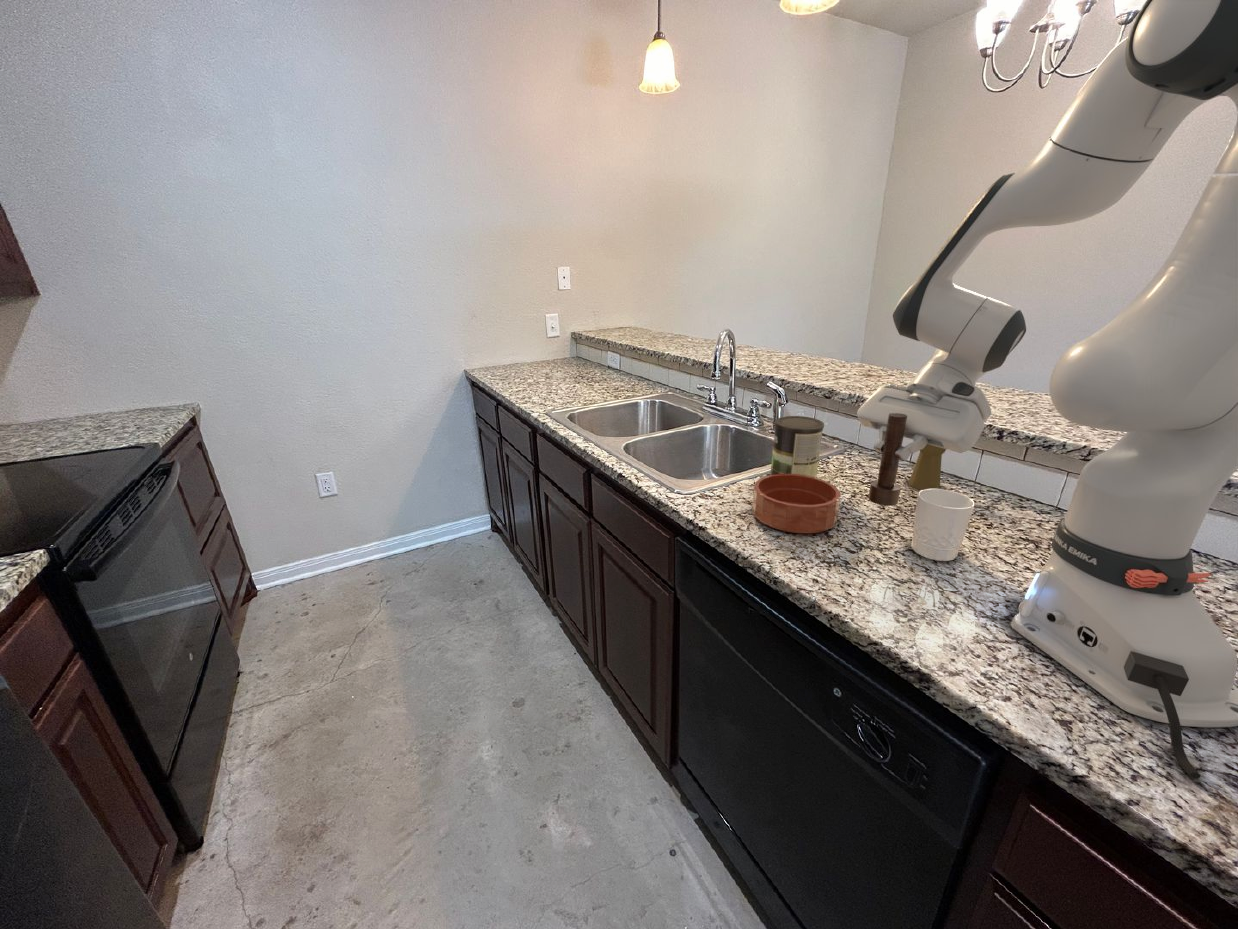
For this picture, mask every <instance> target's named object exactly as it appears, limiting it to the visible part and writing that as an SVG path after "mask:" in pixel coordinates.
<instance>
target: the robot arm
mask: <svg viewBox="0 0 1238 929" xmlns="http://www.w3.org/2000/svg"><path fill="white" fill-rule="evenodd" d="M1218 97H1227V98H1229V99H1230V100H1232V102H1233V103H1234V105H1235V108H1236V123H1235V126H1234V129H1233V131H1232V134H1231V137H1230V139H1229V140H1228V143H1227V145H1226V147H1225V149H1224V150H1223V152H1222V154H1221V156H1220V158H1219V159H1218V162H1217V163H1216V166H1215V167H1214V170H1213V171H1212V175H1210V177H1209V179H1208V181H1207V183H1206V186H1205V187H1204V189H1203V191H1202V193H1201V196H1200V198H1199V199H1198V202H1196V203H1197V204H1195V207H1194V209H1193V211H1192V213H1191V215H1190V217H1189V219H1188V221H1187V222H1186V224H1185V226H1184V227H1183V229H1182V231H1181V233H1180V235H1179V237H1178V239H1177V240H1176V243H1175V244H1174V247H1173V249H1172V250H1171V252H1170V253H1169V255H1168V257H1167V258H1166V260H1165V261H1164V263H1162V266H1161V267H1160V269H1159V270H1158V271H1157V272H1156V273H1155V275H1153V277H1152V278H1151V280H1150V281H1149V282H1148V283H1147V284H1146V285H1145V286H1144V288H1142V290H1141V291H1140V292H1139V293H1138V294H1137V295H1136V296H1135V298H1133V300H1131V302H1130V303H1129V304H1128V305H1126V307H1125V308H1124V309H1123V310H1122V311H1121V312H1119V314H1117V315H1116V316H1115V317H1114V318H1113V319H1111V321H1110V322H1108V323H1107V324H1106V325H1105V326H1103V327H1102V328H1100V329H1099V330H1098V331H1096V332H1095V333H1093V334H1091V335H1090V336H1088V337H1087V338H1085V339H1083V340H1081V341H1079V342H1077V343H1075V344H1073V345H1072V346H1070V347H1069V348H1068V349H1067V350H1066V351H1065V352H1064V353H1062V355H1061V356H1060V357H1059V358H1058V359H1057V361H1056V363H1055V365H1054V366H1053V369H1052V371H1051V374H1050V377H1049V384H1048V385H1049V386H1048V388H1049V389H1048V390H1049V396H1050V399H1051V402H1052V405H1053V407H1054V408H1055V410H1056V411H1057V412H1058V414H1059V415H1060V416H1062V418H1063V419H1065V420H1067V421H1068V422H1070V423H1072V424H1076V425H1079V426H1084V427H1089V428H1093V429H1100V430H1106V431H1111V432H1119V433H1120V432H1121V433H1125V434H1124V435H1123V436H1122V437H1121V439H1119V440H1118V441H1117V442H1116V443H1115V444H1113V445H1112V446H1111V447H1110V448H1108V449H1106V450H1105V451H1103V452H1102V453H1099V454H1098V455H1096V456H1095V457H1093V458H1092V459H1091V460H1089V461H1088V462H1087V463H1086V464H1085V465H1084V466H1083V467H1082V469H1081V471H1080V473H1079V476H1078V478H1077V481H1076V485H1075V487H1074V490H1073V492H1072V493H1073V494H1072V496H1071V499H1070V502H1069V505H1068V508H1067V510H1066V511H1067V512H1066V513H1065V517H1063V518H1062V519H1060V520H1059V523H1058V525H1057V527H1056V529H1054V532H1053V538H1052V541H1051V549H1052V551H1051V553H1050V555H1049V558H1048V560H1047V561H1046V563H1045V564H1044V566H1043V567H1042V569H1041V570H1040V573H1039V572H1038V573H1036V574H1035V576H1034V578H1033V580H1032V582H1031V583H1030V586H1028V589H1027V591H1026V593H1025V596H1024V598H1023V599H1022V600H1021V601H1020V603H1019V605H1018V613H1017V614H1016V615H1014V616H1013V618H1012V619H1011V622H1010V627H1011V628H1012V629H1013V630H1014V631H1015V632H1017V633H1018V634H1019V635H1021V636H1022V637H1023V638H1024V639H1026V640H1027V641H1029V642H1030V643H1031V644H1033V645H1034V646H1036V647H1037V648H1039V649H1040V650H1041V651H1042V652H1044V653H1045V654H1047V655H1048V656H1049V657H1051V658H1052V659H1053V660H1055V661H1056V662H1057V663H1059V664H1060V665H1061V666H1063V667H1064V668H1065V669H1067V670H1068V671H1069V672H1070V673H1072V674H1074V675H1075V676H1076V677H1077V678H1079V679H1080V680H1082V682H1084V683H1086V684H1087V685H1088V686H1090V687H1091V688H1092V689H1094V690H1095V691H1096V692H1098V693H1099V694H1100V695H1102V696H1103V697H1105V698H1106V699H1107V700H1108V701H1110V702H1111V703H1113V705H1115V706H1117V707H1118V708H1120V709H1121V710H1123V711H1125V712H1126V713H1128V714H1132V715H1134V716H1137V717H1141V718H1143V719H1147V720H1152V721H1155V722H1160V723H1162V724H1163V723H1164V724H1168V725H1169V735H1170V743H1171V748H1172V751H1173V754H1174V757H1175V759H1176V761H1177V763H1178V764H1179V766H1180V767H1181V769H1183V771H1184V772H1185V773H1186V775H1188V777H1189V778H1191V779H1193V780H1197V779H1200V778H1201V774H1200V772H1199V771H1198V770H1197V769H1196V768H1195V767H1194V766H1193V765H1192V764H1191V762H1190V760H1189V759H1188V757H1187V754H1186V752H1185V748H1184V742H1183V733H1182V727H1191V728H1232V727H1233V728H1234V727H1238V687H1237V686H1236V685H1235V684H1234V683H1235V679H1236V675H1237V671H1238V655H1237V652H1236V650H1235V649H1234V647H1233V646H1232V645H1231V644H1230V642H1229V641H1228V640H1227V638H1226V637H1225V635H1224V631H1223V630H1222V628H1221V627H1220V626H1219V625H1217V624H1216V622H1215V621H1214V620H1213V618H1211V616H1210V614H1209V613H1208V611H1206V609H1205V607H1204V605H1203V604H1202V603H1201V601H1200V599H1199V598H1198V597H1197V596H1196V595H1195V593H1194V591H1193V589H1194V587H1195V583H1208V581H1209V580H1206V579H1205V578H1209V577H1212V574H1211V573H1209V572H1194V561H1193V553H1192V551H1191V547H1192V545H1193V543H1194V541H1195V539H1196V536H1197V535H1198V533H1199V530H1200V529H1201V526H1202V524H1203V522H1204V520H1205V518H1206V516H1207V514H1208V512H1209V510H1210V508H1211V506H1212V504H1213V502H1214V500H1215V499H1216V497H1217V496H1218V494H1219V493H1220V491H1221V489H1222V488H1223V487H1224V486H1225V484H1226V483H1227V482H1228V481H1229V479H1230V478H1231V477H1232V476H1233V475H1234V473H1236V472H1237V470H1238V175H1227V174H1238V0H1146V1H1145V2H1144V3H1143V5H1142V7H1141V8H1140V10H1139V11H1138V13H1137V15H1136V17H1135V19H1134V21H1133V23H1132V25H1131V28H1130V30H1129V34H1128V36H1126V37H1125V38H1124V39H1122V40H1121V41H1120V42H1119V43H1118V44H1116V45H1115V46H1113V48H1112V49H1111V50H1110V51H1109V52H1108V54H1107V55H1106V56H1105V58H1104V59H1103V60H1102V61H1101V62H1100V63H1099V65H1098V66H1097V67H1096V69H1095V70H1094V71H1093V72H1092V74H1091V75H1090V77H1089V78H1088V79H1087V80H1086V82H1085V83H1084V85H1083V86H1082V87H1081V88H1080V90H1079V91H1078V93H1076V96H1074V98H1073V100H1072V101H1071V103H1070V104H1069V105H1068V107H1067V108H1066V110H1065V111H1064V113H1063V115H1062V116H1061V118H1060V119H1059V121H1058V122H1057V123H1056V126H1055V128H1054V129H1053V131H1052V132H1051V133H1050V136H1049V137H1048V139H1047V141H1046V142H1045V144H1044V146H1042V148H1041V149H1040V151H1038V153H1037V154H1036V155H1035V156H1034V157H1033V158H1032V159H1031V160H1030V161H1029V162H1028V163H1026V165H1024V166H1023V167H1021V168H1020V169H1019V170H1017V171H1016V172H1011V173H1008V174H1003V175H1001V176H1000V177H999V178H998V179H997V180H996V181H994V182H993V183H992V184H991V185H990V186H989V187H988V188H987V189H986V190H985V191H984V193H983V194H982V195H981V196H980V197H979V199H977V201H976V202H975V203H974V204H973V206H972V207H971V208H970V210H969V211H968V212H967V213H966V214H965V216H964V217H963V218H962V220H961V221H960V222H959V223H958V225H957V226H956V228H955V229H954V231H953V232H952V233H951V234H950V235H949V237H948V238H947V240H946V241H945V242H944V244H943V245H942V247H941V248H940V249H939V250H938V251H937V253H936V255H935V256H934V257H933V258H932V260H931V261H930V263H929V264H928V265H927V267H925V269H924V271H923V272H922V273H921V274H920V276H919V277H918V278H917V280H916V281H915V282H913V284H911V286H909V287H908V289H907V290H906V291H905V292H904V293H903V294H902V296H901V297H900V298H899V300H898V301H897V303H896V305H895V307H894V310H893V313H892V320H893V322H894V326H895V328H896V331H897V333H898V334H899V336H902V337H905V338H908V339H910V340H914V341H917V342H921V343H924V344H926V345H929V346H930V347H933V348H935V350H934V353H933V355H932V358H931V359H930V360H928V361H927V362H925V363H924V364H923V365H922V367H921V368H920V369H919V370H918V372H917V374H916V375H915V376H914V377H913V378H912V380H911V381H909V383H908V385H907V386H905V385H897V384H895V383H894V384H893V383H889V384H888V385H884V386H879V387H878V388H877V390H876V391H875V392H873V394H871V395H870V396H869V397H868V398H867V399H866V400H865V401H864V402H863V403H862V405H861V406H860V407H859V408H858V409H857V411H856V417H857V420H859V422H860V423H861V425H862V426H864V427H867V428H870V429H873V430H877V431H878V437H877V438H878V440H877V441H876V442H875V444H874V445H873V450H874V451H875V452H877V453H880V454H882V451H883V445H884V440H885V434H886V428H887V422H888V416H889V414H890V413H900V414H905V415H907V421H906V426H905V431H904V437H903V438H906V439H909V440H913V441H911V442H910V443H908V444H906V445H905V446H903V445H902V446H900V447H899V448H898V450H897V451H896V452H895V456H896V457H897V458H898V459H899V460H901V461H904V462H905V461H907V460H908V459H909V457H910V456H911V455H913V454H915V453H917V452H920V450H921V449H923V448H924V447H925V446H926V445H927V444H930V445H934V446H937V447H941V448H944V449H946V450H948V451H952V452H954V453H958V454H962V453H965V452H968V451H969V450H971V449H972V448H973V447H974V445H975V444H976V443H977V441H978V439H979V438H980V436H981V435H982V433H983V431H984V429H985V422H986V421H987V420H988V419H989V418H990V417H991V415H992V410H991V405H990V403H989V401H988V399H987V396H986V394H985V393H984V391H983V390H982V389H981V388H979V387H978V386H975V385H976V383H977V381H978V380H979V379H980V378H982V377H983V376H984V375H986V374H987V373H988V372H991V371H994V370H996V369H999V368H1001V367H1002V366H1003V365H1004V363H1005V362H1006V359H1007V358H1008V356H1009V355H1010V353H1011V352H1012V351H1013V350H1014V349H1015V348H1016V347H1017V346H1018V345H1019V343H1021V341H1022V340H1023V338H1024V336H1025V335H1026V332H1027V325H1026V320H1025V315H1024V314H1023V311H1022V310H1021V309H1018V308H1017V307H1016V306H1013V305H1010V304H1008V303H1005V302H1003V301H1000V300H998V299H996V298H992V297H988V296H985V295H982V294H981V293H977V292H974V291H972V290H970V289H966V288H964V287H961V286H959V285H957V284H956V283H955V282H954V281H953V277H954V275H955V274H956V273H957V272H958V271H959V270H960V268H961V267H962V266H963V265H964V263H965V262H966V261H967V260H968V258H969V257H970V256H971V254H972V253H973V252H974V251H975V249H976V248H977V247H978V246H979V245H980V243H981V242H982V241H983V240H984V239H985V238H986V237H987V236H990V235H991V234H994V233H996V232H999V231H1002V230H1008V229H1017V228H1027V227H1030V228H1031V227H1050V226H1051V227H1052V226H1061V225H1066V224H1071V223H1075V222H1080V221H1082V220H1086V219H1088V218H1091V217H1094V216H1096V215H1099V214H1100V213H1103V212H1104V211H1106V210H1108V209H1110V208H1111V207H1112V206H1114V205H1116V204H1117V203H1118V202H1119V201H1120V200H1121V199H1122V198H1123V197H1124V196H1125V195H1126V194H1127V193H1128V192H1129V190H1130V189H1131V188H1132V187H1133V186H1135V184H1136V183H1137V182H1138V181H1139V179H1140V178H1141V177H1142V175H1143V174H1144V173H1145V172H1146V171H1147V169H1148V168H1149V167H1150V166H1151V164H1152V163H1153V161H1155V158H1156V157H1157V156H1158V155H1159V153H1160V152H1161V151H1162V149H1163V148H1164V147H1165V145H1166V143H1167V142H1168V141H1169V140H1170V138H1171V137H1172V136H1173V134H1174V132H1175V131H1176V130H1177V129H1178V127H1179V126H1180V125H1181V124H1182V122H1183V121H1184V120H1185V119H1186V118H1187V117H1188V116H1189V115H1190V114H1191V113H1192V112H1193V111H1195V110H1196V109H1197V108H1198V107H1200V106H1201V105H1203V104H1205V103H1206V102H1209V101H1211V100H1213V99H1215V98H1218ZM1216 174H1219V175H1216ZM1220 174H1226V175H1220ZM1181 726H1182V727H1181Z"/></svg>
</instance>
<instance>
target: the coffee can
mask: <svg viewBox="0 0 1238 929" xmlns="http://www.w3.org/2000/svg"><path fill="white" fill-rule="evenodd" d="M824 428H825V423H824V422H823V421H822V420H820V419H817V418H814V417H811V416H810V417H809V416H801V415H786V416H785V415H784V416H781V417H778V418H776V419H775V420H774V430H773V431H774V432H773V443H772V452H771V453H772V454H771V465H770V473H769V475H775V474H799V475H806V476H811V477H815V478H817V475H818V469H819V468H818V467H819V460H820V455H821V454H820V453H821V446H822V438H823V430H824Z"/></svg>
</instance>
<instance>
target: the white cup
mask: <svg viewBox="0 0 1238 929" xmlns="http://www.w3.org/2000/svg"><path fill="white" fill-rule="evenodd" d="M916 498H917V499H916V504H915V505H916V506H915V510H914V518H913V527H912V528H913V529H912V536H911V537H912V538H911V544H910V545H911V549H912V550H913V551H914V552H915V553H916V554H918V555H919V556H922V557H924V558H926V559H929V560H933V561H939V562H948V561H954V560H955V559H956V558H957V557H958V556H959V552H960V548H961V545H962V543H963V541H964V539H965V536H966V533H967V530H968V526H969V524H970V521H971V518H972V515H973V512H974V508H975V505H976V503H975V501H974V499H972V498H971V497H969V496H967V495H965V494H963V493H961V492H957V491H954V490H950V489H943V488H940V489H924V490H920V491H918V492H917V497H916Z"/></svg>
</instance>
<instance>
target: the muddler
mask: <svg viewBox="0 0 1238 929" xmlns="http://www.w3.org/2000/svg"><path fill="white" fill-rule="evenodd" d="M906 421H907V415H905V414H900V413H890V414H889V416H888V422H887V428H886V434H885V440H884V445H883V451H882V453H881V458H880V463H879V470H878V476H877V479H876V480H872V481H871V482H870V486H869V490H868V500H869V501H870V502H871V503H873V504H876V505H879V506H884V507H885V506H887V507H889V506H891V507H892V506H896V505H898V503H899V498H900V493H901V488H902V487H901V485H900V484H899V483H896V479H897V474H898V469H899V463H900V459H898V458H897V457H896V456H895V452H896V451H897V450H898V448H899V447H900V446H903V442H904V438H905V437H904V431H905V426H906Z"/></svg>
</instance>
